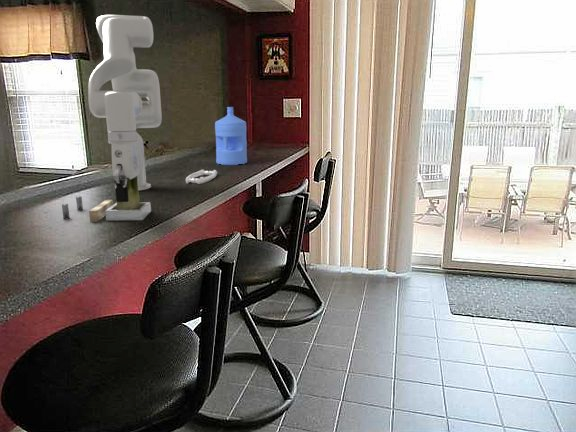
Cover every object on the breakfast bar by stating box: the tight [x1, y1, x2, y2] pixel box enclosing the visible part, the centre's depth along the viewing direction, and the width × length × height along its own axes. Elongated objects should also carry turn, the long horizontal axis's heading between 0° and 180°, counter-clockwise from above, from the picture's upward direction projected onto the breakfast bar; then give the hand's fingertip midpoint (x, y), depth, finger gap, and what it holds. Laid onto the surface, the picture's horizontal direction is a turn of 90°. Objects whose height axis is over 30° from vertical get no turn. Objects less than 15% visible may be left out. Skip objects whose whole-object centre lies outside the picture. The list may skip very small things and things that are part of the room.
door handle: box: [185, 169, 218, 185], centre depth 193 cm, size 3×10×25 cm
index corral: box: [105, 201, 152, 222], centre depth 134 cm, size 10×10×3 cm
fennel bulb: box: [116, 176, 141, 210], centre depth 133 cm, size 6×5×12 cm
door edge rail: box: [88, 199, 114, 223], centre depth 135 cm, size 14×2×3 cm, turn 3°
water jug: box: [214, 106, 248, 166], centre depth 233 cm, size 16×16×28 cm
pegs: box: [61, 195, 84, 220], centre depth 136 cm, size 12×2×4 cm, turn 3°
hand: (127, 197), depth 133 cm, fingers open, 9 cm apart
